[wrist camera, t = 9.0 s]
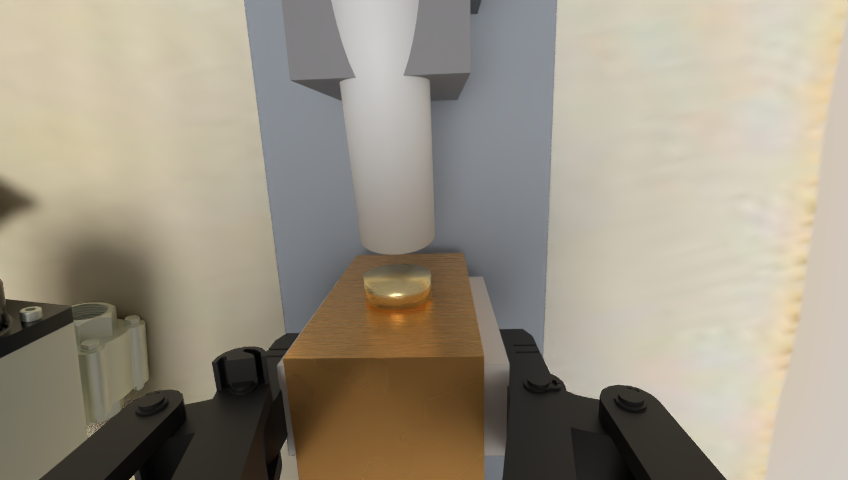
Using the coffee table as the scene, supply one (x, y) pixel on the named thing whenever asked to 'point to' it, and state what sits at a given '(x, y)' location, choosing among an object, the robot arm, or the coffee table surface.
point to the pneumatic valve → (61, 378)
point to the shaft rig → (408, 142)
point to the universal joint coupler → (390, 374)
